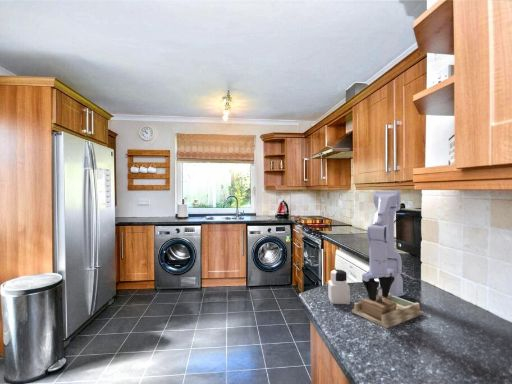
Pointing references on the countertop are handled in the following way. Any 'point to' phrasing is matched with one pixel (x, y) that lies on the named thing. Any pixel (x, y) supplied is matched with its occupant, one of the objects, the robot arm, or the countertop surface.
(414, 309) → the bay
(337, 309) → the countertop surface
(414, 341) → the countertop surface
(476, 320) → the countertop surface
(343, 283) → the medicine bottle
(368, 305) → the block with knob
